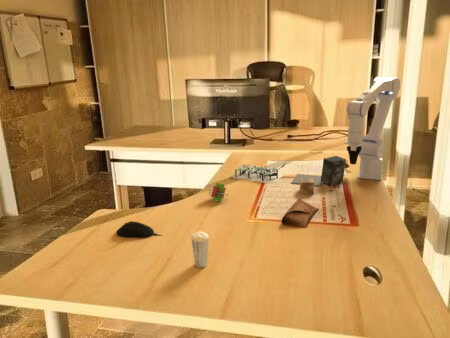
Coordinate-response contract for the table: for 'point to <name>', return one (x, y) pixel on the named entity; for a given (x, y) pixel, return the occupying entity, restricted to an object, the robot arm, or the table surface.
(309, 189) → the walnut block
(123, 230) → the gaming mouse
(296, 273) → the table surface
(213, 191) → the geometric puzzle
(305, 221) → the sunglasses case
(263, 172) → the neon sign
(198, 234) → the milkshake
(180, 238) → the table surface
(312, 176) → the mat
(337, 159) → the box
